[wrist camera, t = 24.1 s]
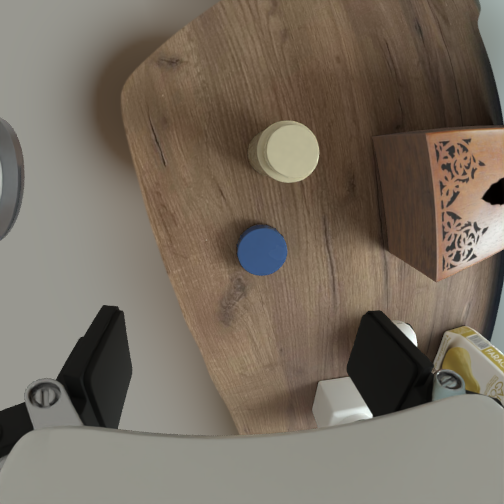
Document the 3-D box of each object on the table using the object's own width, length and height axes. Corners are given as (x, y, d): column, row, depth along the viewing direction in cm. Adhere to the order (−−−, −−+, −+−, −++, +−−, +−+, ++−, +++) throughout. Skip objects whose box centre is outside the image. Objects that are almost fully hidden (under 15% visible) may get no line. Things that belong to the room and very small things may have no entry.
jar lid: (272, 276, 33) (275, 282, 32) (229, 260, 32) (229, 266, 31) (291, 234, 32) (295, 238, 30) (247, 216, 31) (249, 220, 29)
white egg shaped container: (400, 341, 39) (425, 368, 32) (359, 359, 39) (379, 391, 32) (400, 286, 36) (431, 311, 29) (354, 305, 36) (379, 335, 29)
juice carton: (442, 327, 40) (531, 414, 17) (470, 319, 41) (553, 392, 18) (427, 369, 43) (497, 457, 20) (454, 359, 44) (523, 435, 21)
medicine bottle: (311, 410, 42) (331, 467, 30) (318, 380, 39) (344, 440, 28) (350, 403, 42) (376, 455, 31) (360, 373, 40) (393, 427, 29)
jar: (238, 160, 29) (246, 160, 20) (264, 121, 28) (283, 105, 19) (278, 185, 30) (302, 197, 21) (303, 147, 29) (337, 143, 20)
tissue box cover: (388, 251, 34) (436, 282, 25) (371, 136, 29) (425, 133, 20) (501, 210, 35) (543, 225, 25) (494, 125, 30) (540, 127, 21)
